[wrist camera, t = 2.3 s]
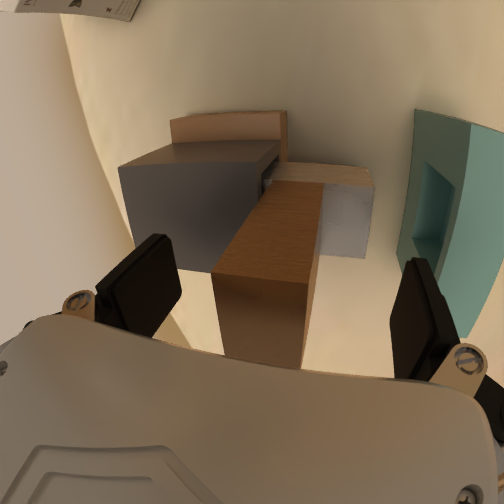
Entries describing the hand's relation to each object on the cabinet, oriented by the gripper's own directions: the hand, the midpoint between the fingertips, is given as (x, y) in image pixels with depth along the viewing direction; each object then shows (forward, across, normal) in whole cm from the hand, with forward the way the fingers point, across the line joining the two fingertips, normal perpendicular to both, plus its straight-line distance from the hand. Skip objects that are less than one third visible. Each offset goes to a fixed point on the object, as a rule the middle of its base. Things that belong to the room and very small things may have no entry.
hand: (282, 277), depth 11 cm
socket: (+13, -10, 0) cm, 16 cm away
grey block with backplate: (+13, +6, 0) cm, 14 cm away
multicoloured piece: (+9, +3, 0) cm, 9 cm away
